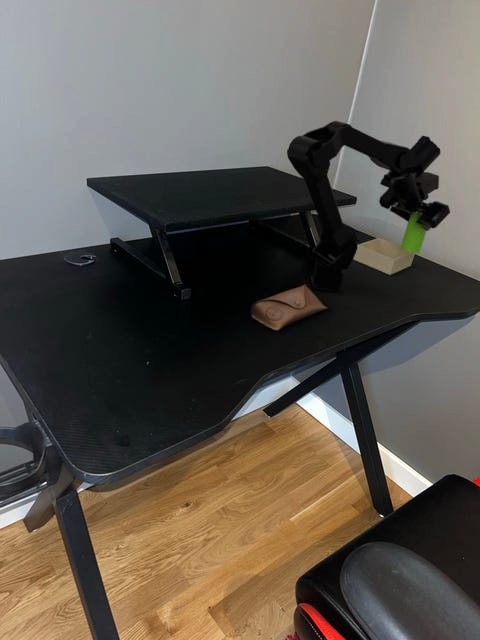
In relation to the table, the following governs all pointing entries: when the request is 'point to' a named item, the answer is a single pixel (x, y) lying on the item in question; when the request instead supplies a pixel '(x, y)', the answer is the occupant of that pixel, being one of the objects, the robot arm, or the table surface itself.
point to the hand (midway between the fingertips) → (420, 226)
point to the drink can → (413, 234)
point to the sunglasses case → (286, 307)
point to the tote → (383, 256)
